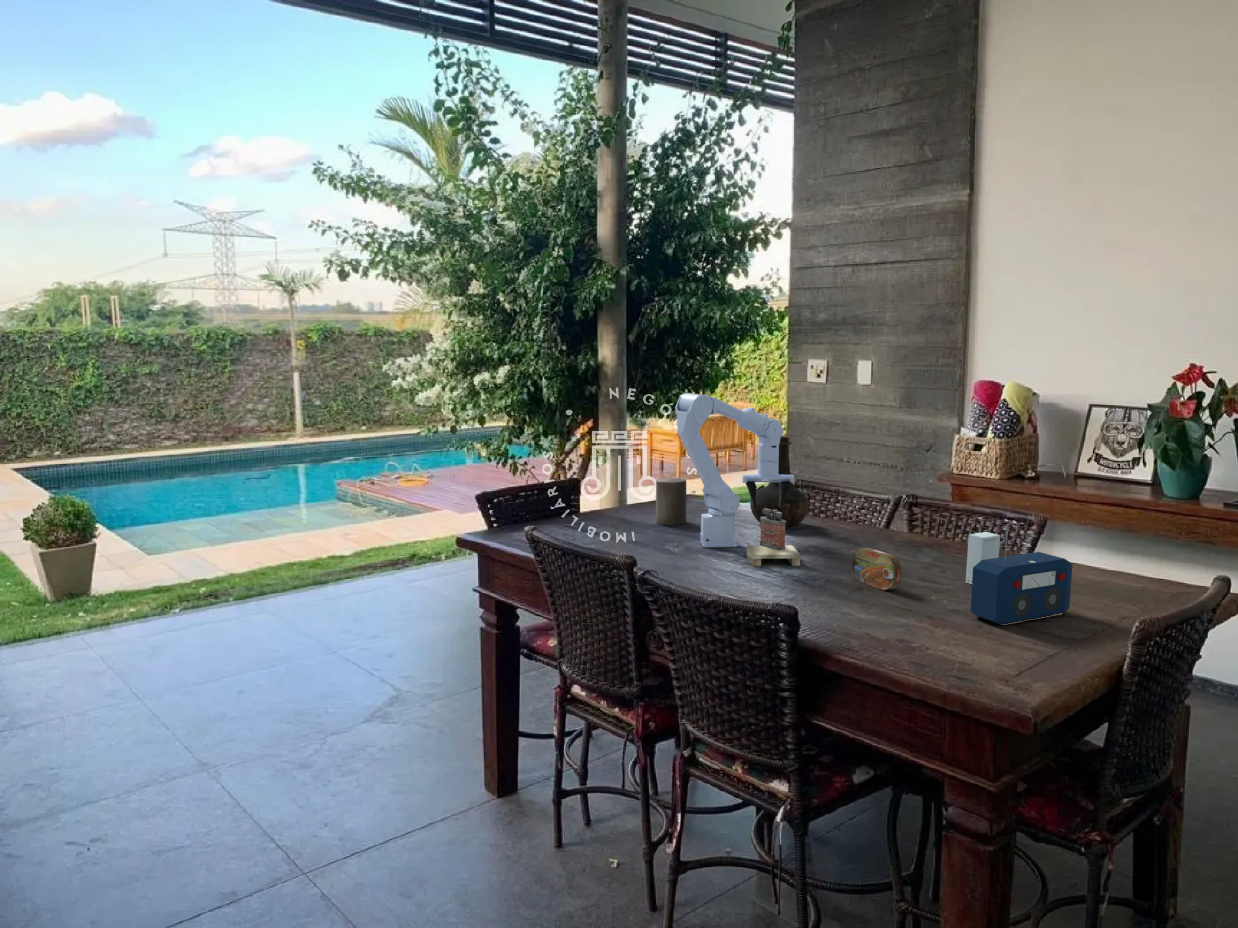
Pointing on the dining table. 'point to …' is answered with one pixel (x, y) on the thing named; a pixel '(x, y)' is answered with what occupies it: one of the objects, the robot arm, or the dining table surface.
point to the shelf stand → (772, 554)
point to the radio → (1020, 587)
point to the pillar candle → (671, 501)
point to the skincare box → (981, 550)
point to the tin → (876, 568)
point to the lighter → (772, 530)
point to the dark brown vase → (769, 495)
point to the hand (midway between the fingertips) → (767, 507)
